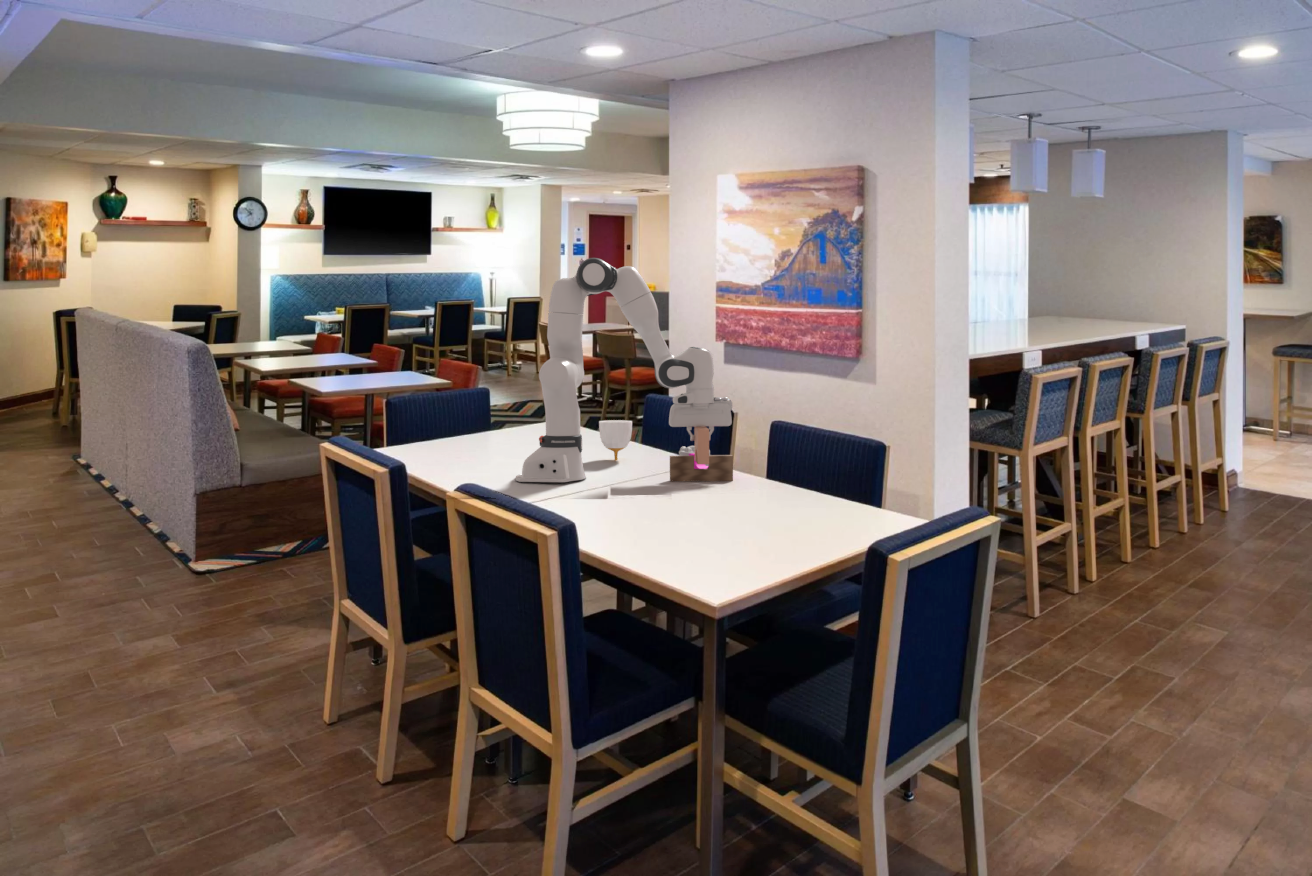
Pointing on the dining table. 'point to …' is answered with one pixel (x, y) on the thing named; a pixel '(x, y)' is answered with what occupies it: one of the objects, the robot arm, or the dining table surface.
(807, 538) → the dining table surface
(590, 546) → the dining table surface
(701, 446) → the tan notched block
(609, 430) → the cup
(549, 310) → the robot arm
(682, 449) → the lumpy-topped squat cylinder
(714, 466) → the walnut rail
